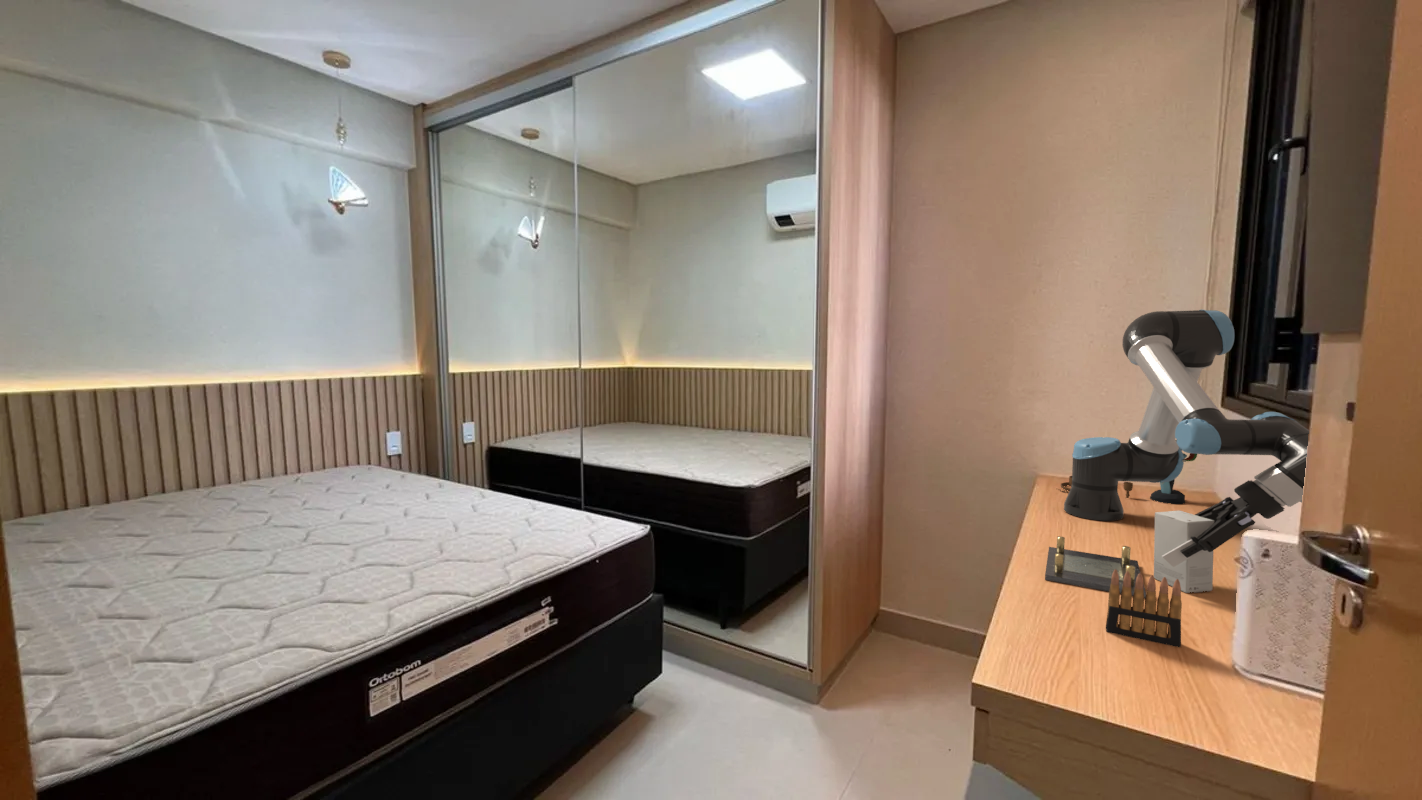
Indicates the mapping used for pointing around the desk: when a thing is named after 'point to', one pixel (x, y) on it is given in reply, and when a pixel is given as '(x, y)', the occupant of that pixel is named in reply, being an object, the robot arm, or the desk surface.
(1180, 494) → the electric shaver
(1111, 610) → the ammunition clip
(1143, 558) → the desk surface
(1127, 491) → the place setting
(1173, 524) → the skincare box
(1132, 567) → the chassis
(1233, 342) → the robot arm
